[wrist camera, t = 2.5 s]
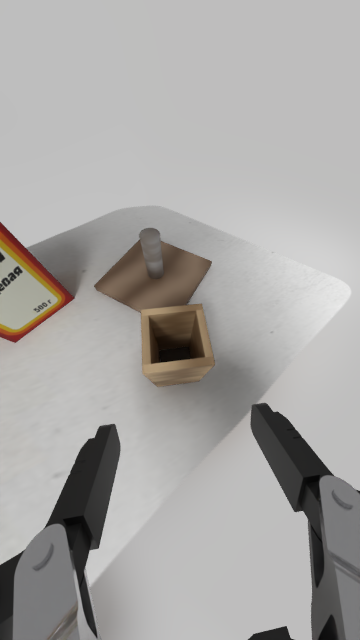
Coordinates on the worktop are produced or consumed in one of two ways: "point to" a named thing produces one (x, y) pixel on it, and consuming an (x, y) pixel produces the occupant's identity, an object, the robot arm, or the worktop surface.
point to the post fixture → (154, 274)
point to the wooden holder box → (175, 344)
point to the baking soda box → (25, 290)
